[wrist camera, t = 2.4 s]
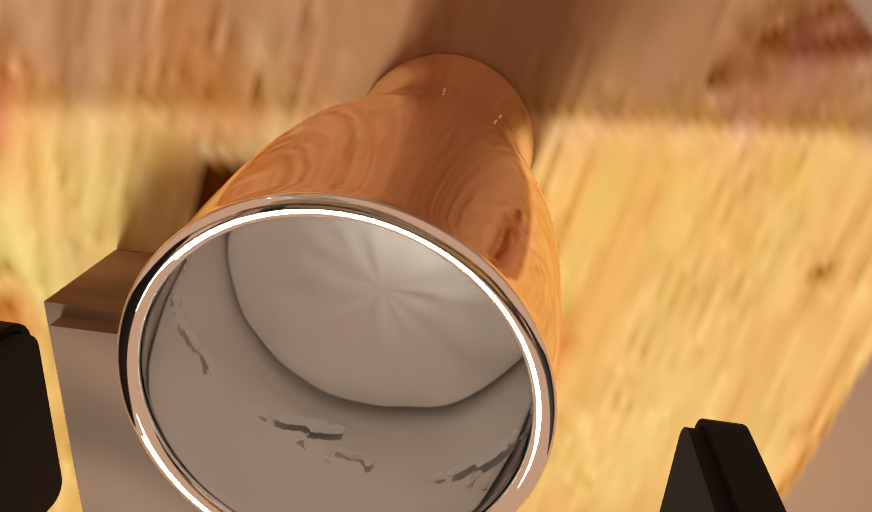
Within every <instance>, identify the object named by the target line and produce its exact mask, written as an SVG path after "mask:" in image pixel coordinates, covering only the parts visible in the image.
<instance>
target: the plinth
mask: <svg viewBox="0 0 872 512" xmlns="http://www.w3.org/2000/svg"><path fill="white" fill-rule="evenodd" d="M153 255H154V254H149V253H140V252H132V251H124V250H115V251H113V252H112V253H110V254H109V255H108V256H106V257H105V258H104V259H102V260H101V261H99V262H98V263H97V264H95V265H94V266H93V267H91V268H90V269H88V270H87V271H86V272H84V273H83V274H81V275H80V276H79V277H77V278H76V279H75V280H73V281H72V282H70V283H69V284H68V285H66V286H65V287H64V288H62V289H61V290H59V291H58V292H57V293H55V294H54V295H52V296H51V297H50V298H48V299H47V300H46V301H44V305H45V310H46V315H47V321H48V326H49V332H50V337H51V343H52V348H53V353H54V359H55V364H56V370H57V375H58V380H59V386H60V391H61V397H62V402H63V408H64V413H65V418H66V424H67V429H68V435H69V440H70V446H71V451H72V456H73V462H74V467H75V473H76V478H77V483H78V489H79V494H80V500H81V505H82V511H83V512H201V511H199V510H198V509H197V508H196V507H195V506H193V505H192V504H191V503H190V502H189V501H188V500H187V499H186V498H184V497H183V496H182V495H181V494H180V493H179V492H178V491H177V490H176V489H175V488H174V487H173V486H172V484H171V483H170V482H169V481H168V480H167V479H166V478H165V476H164V475H163V474H162V473H161V472H160V470H159V469H158V468H157V466H156V465H155V464H154V462H153V461H152V459H151V458H150V457H149V455H148V453H147V452H146V450H145V449H144V447H143V445H142V443H141V442H140V440H139V438H138V436H137V434H136V432H135V430H134V428H133V426H132V423H131V421H130V418H129V416H128V413H127V410H126V408H125V404H124V401H123V397H122V393H121V389H120V383H119V377H118V369H117V340H118V331H119V325H120V320H121V316H122V312H123V309H124V306H125V303H126V300H127V298H128V295H129V293H130V291H131V289H132V287H133V285H134V283H135V281H136V279H137V277H138V276H139V274H140V272H141V271H142V269H143V268H144V266H145V265H146V264H147V262H148V261H149V260H150V258H151V257H152V256H153Z"/></svg>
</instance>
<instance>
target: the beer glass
mask: <svg viewBox="0 0 872 512" xmlns="http://www.w3.org/2000/svg"><path fill="white" fill-rule="evenodd" d="M533 153H534V135H533V128H532V123H531V120H530V116H529V114H528V111H527V109H526V106H525V104H524V102H523V101H522V99H521V97H520V96H519V94H518V93H517V91H516V90H515V89H514V87H513V86H512V85H511V84H510V83H509V82H508V81H507V80H506V79H505V78H504V77H503V76H502V75H500V74H499V73H498V72H497V71H495V70H494V69H492V68H490V67H489V66H487V65H485V64H483V63H481V62H479V61H477V60H474V59H471V58H468V57H465V56H460V55H454V54H433V55H426V56H422V57H418V58H415V59H412V60H409V61H407V62H404V63H402V64H400V65H398V66H397V67H395V68H393V69H392V70H391V71H389V72H388V73H387V74H385V75H384V76H383V77H382V78H381V79H380V80H379V81H378V82H377V83H376V85H375V86H374V87H373V88H372V90H371V91H370V92H369V94H368V95H367V96H365V97H361V98H358V99H355V100H351V101H348V102H345V103H342V104H339V105H335V106H333V107H330V108H327V109H325V110H323V111H320V112H318V113H316V114H314V115H313V116H311V117H309V118H307V119H306V120H304V121H302V122H301V123H299V124H298V125H296V126H294V127H293V128H291V129H290V130H288V131H286V132H285V133H283V134H282V135H280V136H279V137H277V138H276V139H274V140H273V141H272V142H270V143H269V144H268V145H267V146H265V147H264V148H263V149H262V150H261V151H260V152H258V153H257V154H256V155H255V156H254V157H253V158H251V159H250V160H249V161H248V162H247V163H246V164H244V165H243V166H242V167H241V168H240V169H239V170H238V171H237V172H235V173H234V174H233V175H232V176H231V177H230V178H229V180H228V181H227V182H226V183H225V184H224V185H223V186H222V187H221V188H220V189H219V190H218V191H217V192H216V193H215V194H214V195H213V196H212V197H211V198H210V199H209V200H208V201H207V202H206V203H205V204H204V206H203V207H202V208H201V209H200V210H199V211H198V212H197V213H196V215H195V216H194V217H193V218H192V219H191V220H190V221H189V222H188V224H187V225H186V226H185V227H184V228H182V229H181V230H179V231H178V232H177V233H176V234H174V235H173V236H172V237H171V238H170V239H169V240H168V241H166V242H165V243H164V244H163V245H162V246H161V247H160V248H159V249H158V250H157V251H156V253H155V254H154V255H153V256H152V257H151V258H150V260H149V261H148V262H147V264H146V265H145V266H144V268H143V269H142V271H141V272H140V274H139V276H138V277H137V279H136V281H135V283H134V285H133V287H132V289H131V291H130V293H129V295H128V298H127V300H126V303H125V306H124V309H123V312H122V316H121V320H120V325H119V331H118V340H117V369H118V377H119V383H120V389H121V393H122V397H123V401H124V404H125V408H126V410H127V413H128V416H129V418H130V421H131V423H132V426H133V428H134V430H135V432H136V434H137V436H138V438H139V440H140V442H141V443H142V445H143V447H144V449H145V450H146V452H147V453H148V455H149V457H150V458H151V459H152V461H153V462H154V464H155V465H156V466H157V468H158V469H159V470H160V472H161V473H162V474H163V475H164V476H165V478H166V479H167V480H168V481H169V482H170V483H171V484H172V486H173V487H174V488H175V489H176V490H177V491H178V492H179V493H180V494H181V495H182V496H183V497H184V498H186V499H187V500H188V501H189V502H190V503H191V504H192V505H193V506H195V507H196V508H197V509H198V510H199V511H201V512H516V511H517V510H518V509H519V508H520V507H521V506H522V504H523V503H524V502H525V501H526V499H527V498H528V497H529V495H530V494H531V492H532V491H533V489H534V488H535V486H536V484H537V483H538V481H539V479H540V477H541V475H542V473H543V471H544V468H545V466H546V463H547V461H548V458H549V455H550V452H551V449H552V445H553V441H554V436H555V430H556V422H557V393H556V379H557V369H558V360H559V346H560V330H561V275H560V263H559V257H558V251H557V245H556V239H555V233H554V228H553V223H552V219H551V216H550V212H549V209H548V206H547V204H546V201H545V199H544V197H543V194H542V192H541V190H540V188H539V186H538V183H537V181H536V179H535V177H534V175H533V173H532V171H531V165H532V160H533Z"/></svg>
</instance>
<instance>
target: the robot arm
mask: <svg viewBox="0 0 872 512" xmlns="http://www.w3.org/2000/svg"><path fill="white" fill-rule="evenodd" d="M61 485H62V476H61V470H60V464H59V458H58V453H57V447H56V441H55V436H54V430H53V424H52V418H51V413H50V407H49V401H48V396H47V390H46V384H45V378H44V373H43V367H42V361H41V356H40V350H39V345H38V342H37V340H36V339H35V337H33V336H31V335H30V333H29V331H28V329H27V328H26V327H25V326H24V325H21V324H18V323H11V322H4V321H0V512H47V511H48V510H49V509H50V507H51V506H52V505H53V504H54V502H55V501H56V499H57V497H58V495H59V493H60V490H61ZM660 512H786V510H785V508H784V505H783V503H782V501H781V499H780V497H779V495H778V492H777V490H776V488H775V486H774V484H773V481H772V479H771V477H770V475H769V473H768V471H767V468H766V466H765V464H764V462H763V460H762V458H761V455H760V453H759V451H758V449H757V447H756V444H755V442H754V440H753V438H752V436H751V434H750V431H749V430H748V428H747V427H746V426H745V425H743V424H738V423H731V422H723V421H716V420H709V419H700V420H698V422H697V424H696V426H695V428H688V427H684V428H683V429H682V431H681V433H680V436H679V440H678V443H677V447H676V451H675V455H674V459H673V463H672V467H671V470H670V474H669V478H668V482H667V486H666V490H665V493H664V497H663V501H662V505H661V509H660Z"/></svg>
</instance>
